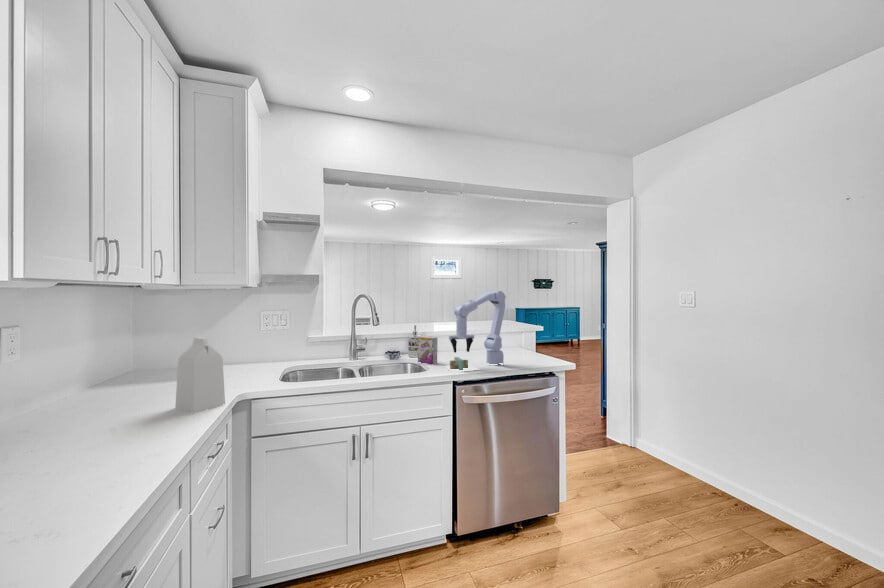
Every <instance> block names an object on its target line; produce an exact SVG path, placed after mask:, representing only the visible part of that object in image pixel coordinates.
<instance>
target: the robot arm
mask: <svg viewBox="0 0 884 588" xmlns="http://www.w3.org/2000/svg"><path fill="white" fill-rule="evenodd" d="M506 297H507V296H506V295H505V293H504V292H503V291H502V290H489V291H487V292H485V293H484V294H483V295H481V296H480V297H478V298H477V299H469V300H468V301H467V302H466V303H463V304H461V306H459V305H458V306H457V307H456V308H455V310H454V311H453V312H454V315H455V319H456V328H455V329H456V331H455V332H456V333H455V334H456V335H448V340H449V341H450V343H451V346H452V349H453V353H457V343H458V340H465V343H466V353H469V352H470V350H471V346H472V344H473V342H474V339H475V335H474V334H467V333H468V332H467V331H468V329H467V328H468V327H467V324H468V322H467V321H468V319H467V318H468V316H469V314H470V313H472V312H474V311H475V310H476V309H478V307H479V305H482V304H484V303H485V302H488V301H489V302H490V303H492V305H493V306H494V308H495V309H494V314H493V318H492V322H491V327H490V328H491V329H490V333H489V334H488V335H487V336H486V338H485V340H484V343H483V346H484V348H485V350H486V364H487V363H489V364H499V363H503V364H504V352H503V351H502V350H501V349H502V346H503V344H502V340H503V339H502V337H501V336H500V335H501V331H502V325H503V320H504V314H505V310H506Z"/></svg>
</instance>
